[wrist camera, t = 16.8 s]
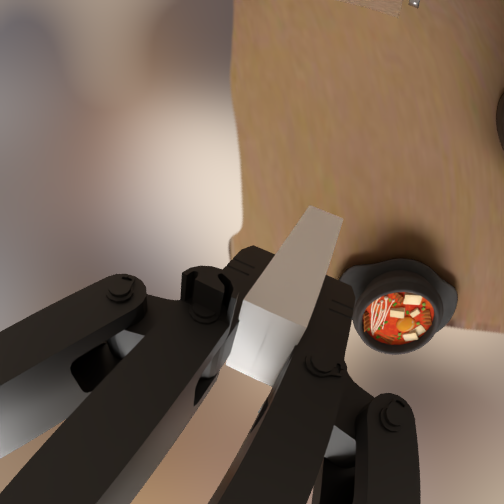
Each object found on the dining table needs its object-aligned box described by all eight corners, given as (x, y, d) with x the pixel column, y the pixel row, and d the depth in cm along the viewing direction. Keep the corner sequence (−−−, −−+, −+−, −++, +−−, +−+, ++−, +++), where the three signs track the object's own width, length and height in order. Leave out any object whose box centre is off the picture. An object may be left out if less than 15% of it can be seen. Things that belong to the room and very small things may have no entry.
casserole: (328, 318, 56) (320, 346, 50) (345, 239, 47) (340, 263, 40) (434, 341, 48) (437, 370, 41) (469, 268, 39) (481, 294, 32)
